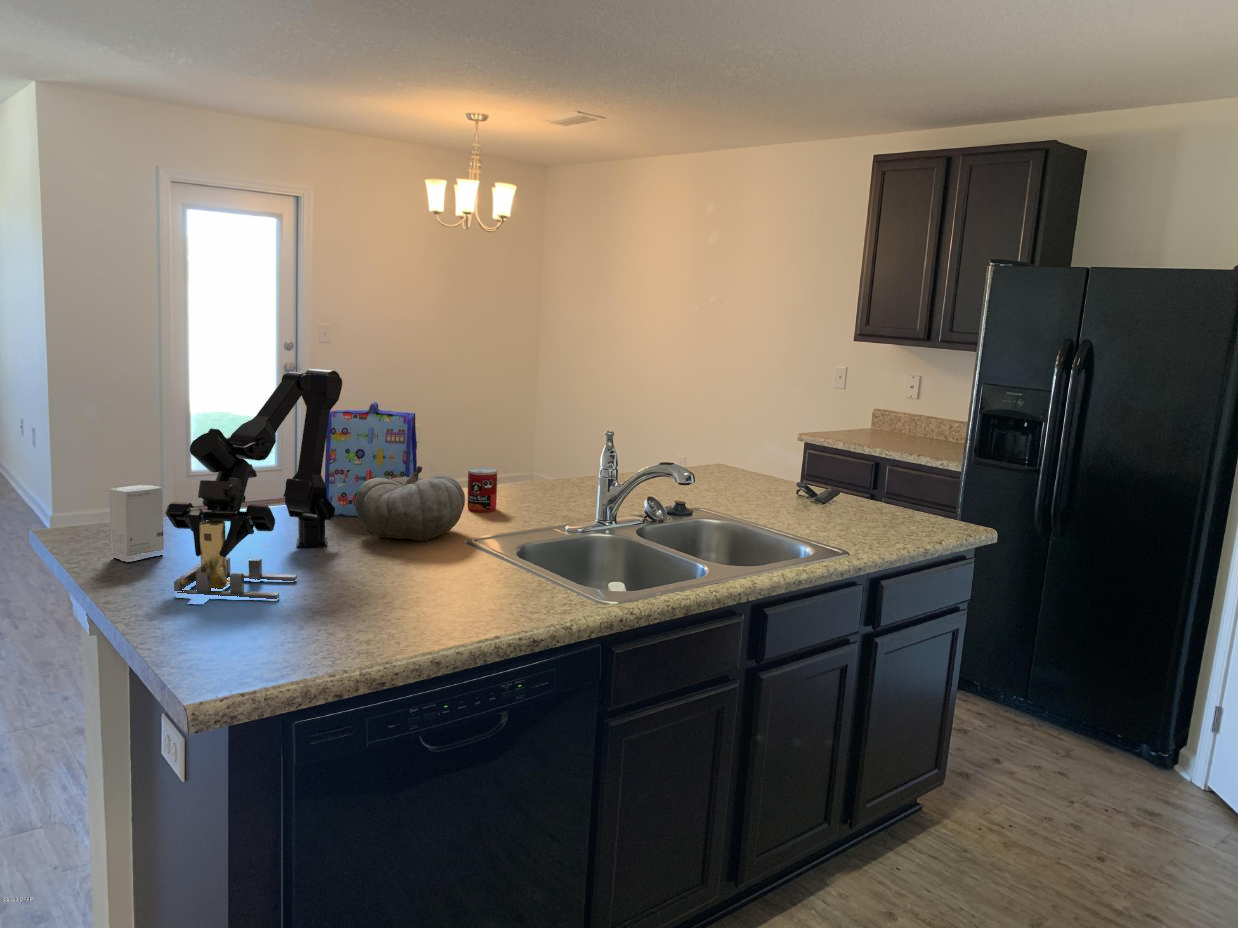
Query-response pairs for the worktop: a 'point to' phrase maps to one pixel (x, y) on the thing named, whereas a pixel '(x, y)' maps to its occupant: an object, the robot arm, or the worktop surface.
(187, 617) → the worktop surface
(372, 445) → the lunch bag
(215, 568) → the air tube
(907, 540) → the worktop surface
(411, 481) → the gourd
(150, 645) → the worktop surface
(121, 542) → the skincare box
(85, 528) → the worktop surface
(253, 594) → the frame
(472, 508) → the canned food
